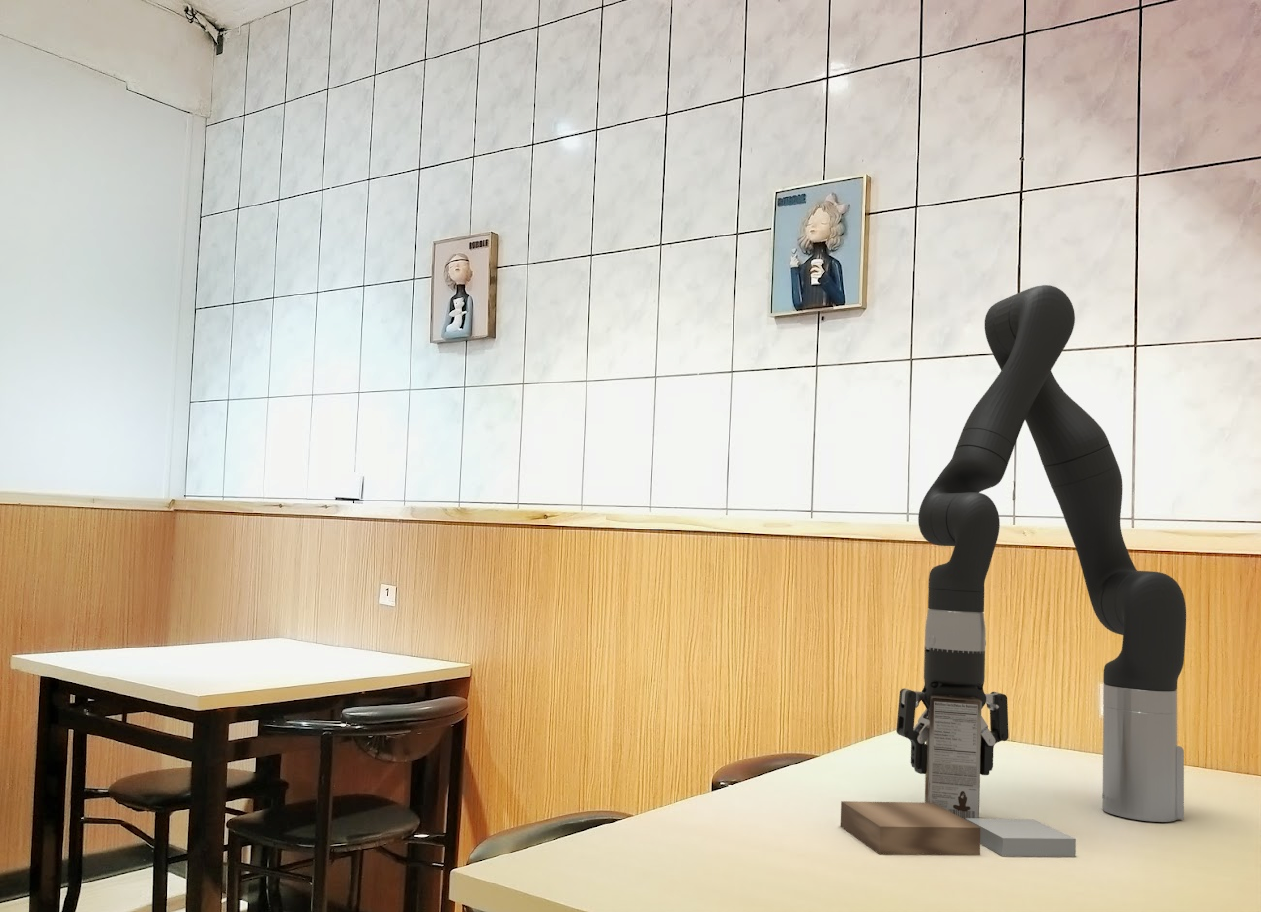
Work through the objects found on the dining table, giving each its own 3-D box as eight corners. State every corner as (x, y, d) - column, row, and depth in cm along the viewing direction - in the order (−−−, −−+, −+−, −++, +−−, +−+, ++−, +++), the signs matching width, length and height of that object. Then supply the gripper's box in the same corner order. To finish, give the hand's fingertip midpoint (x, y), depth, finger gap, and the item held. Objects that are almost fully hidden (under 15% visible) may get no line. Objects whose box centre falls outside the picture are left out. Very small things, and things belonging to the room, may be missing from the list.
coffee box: (923, 810, 140) (925, 688, 142) (973, 815, 139) (975, 691, 140) (927, 826, 131) (930, 696, 133) (981, 832, 130) (983, 700, 131)
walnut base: (932, 827, 131) (933, 802, 131) (979, 854, 119) (980, 827, 119) (840, 826, 129) (841, 801, 129) (879, 854, 117) (880, 826, 117)
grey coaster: (1033, 835, 129) (1033, 819, 129) (1075, 856, 120) (1075, 838, 121) (964, 835, 128) (965, 818, 128) (1002, 856, 119) (1002, 838, 119)
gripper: (991, 645, 142) (988, 769, 140) (891, 641, 139) (887, 766, 138) (1020, 651, 134) (1018, 781, 133) (915, 646, 132) (911, 778, 130)
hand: (951, 773), depth 135 cm, fingers open, 8 cm apart
